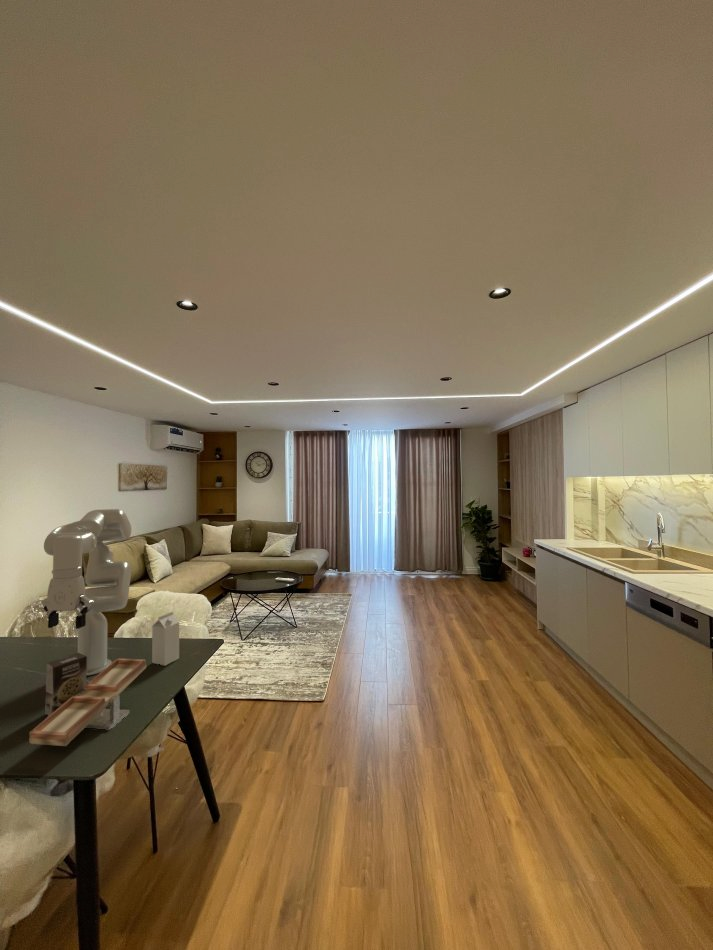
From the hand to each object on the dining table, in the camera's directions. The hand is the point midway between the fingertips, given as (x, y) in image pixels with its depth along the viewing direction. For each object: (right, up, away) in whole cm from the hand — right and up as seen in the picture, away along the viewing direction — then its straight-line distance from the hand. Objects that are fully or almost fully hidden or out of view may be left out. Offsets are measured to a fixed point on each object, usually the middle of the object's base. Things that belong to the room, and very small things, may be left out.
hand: (66, 626), depth 121 cm
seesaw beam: (+14, -20, -6) cm, 25 cm away
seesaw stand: (+14, -26, -6) cm, 30 cm away
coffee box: (0, -27, -1) cm, 27 cm away
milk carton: (+15, -28, +33) cm, 45 cm away
